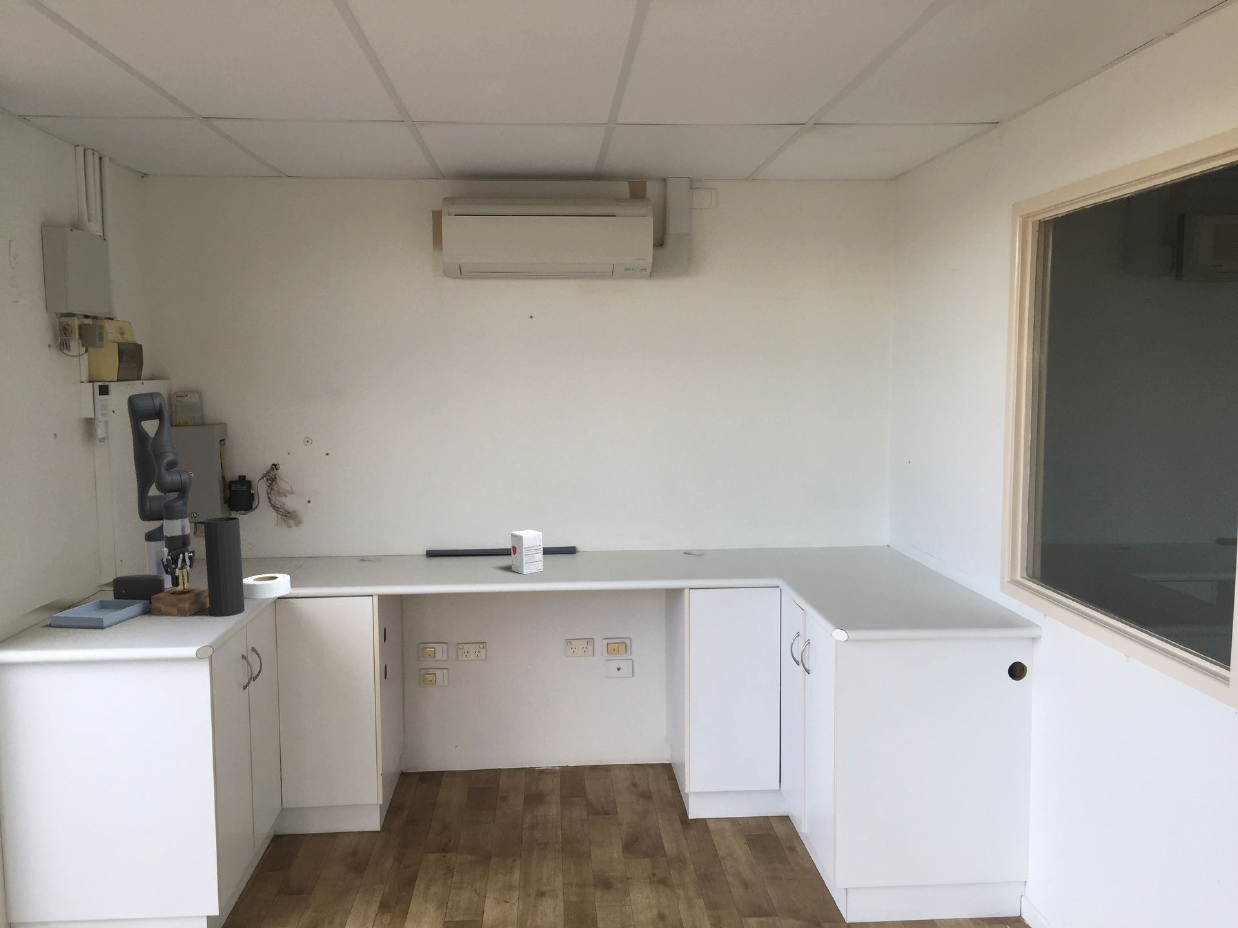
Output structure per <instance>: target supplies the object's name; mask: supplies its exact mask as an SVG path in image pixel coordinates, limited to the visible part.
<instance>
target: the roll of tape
mask: <svg viewBox="0 0 1238 928" xmlns="http://www.w3.org/2000/svg"><path fill="white" fill-rule="evenodd" d="M290 577H291V576H290V575H289V574H286V573H266V574H259V575H253V576H250V577H249V576H248V577H246V578H243V591H244V599H247V600H264V599H266V600H267V599H274V598H278V597H283V596H286V595H289V594H290V593H291V591H292V590H291V589H292V587H291V578H290Z"/></svg>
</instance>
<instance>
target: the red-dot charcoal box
mask: <svg viewBox="0 0 1238 928" xmlns="http://www.w3.org/2000/svg"><path fill="white" fill-rule="evenodd" d="M165 591H166V588H165V585H164V578H163V577H162V576H161V575H151V574H147V573H146V574H131V575H130V574H129V575H122V576H116V577H114V578H113V580H112V593H113V599H115V600H144V601H149V602H150V605H152V598H151V597H152V596H154V595H157V594H160V593H163V592H165Z"/></svg>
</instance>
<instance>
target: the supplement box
mask: <svg viewBox="0 0 1238 928" xmlns="http://www.w3.org/2000/svg"><path fill="white" fill-rule="evenodd" d="M510 547H511V548H510V550H511V571H512V572H516V573H519V574H522V575H527V574H534V573H540V572H543V571H544V558H543V557H544V556H543V555H544V554H543V548H544V547H543V532H540V531H538V530H533V529H526V530H519V531H518V530H516V531H511V532H510Z"/></svg>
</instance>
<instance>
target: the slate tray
mask: <svg viewBox="0 0 1238 928" xmlns="http://www.w3.org/2000/svg"><path fill="white" fill-rule="evenodd" d="M150 605H151V604H150V602H149V601H144V600H115V599H114V598H112V599H111V598H110V599H107V598H99V599H96V600H94V601H93V600H92V601H91V602H88V603H84V604H81V605H79V606H76V607H72V608H70V609H67V610H66V609H65V610H64V611H60V612H57V613H55V614H51V615H50V623H51V628H64V627H65V628H66V629H68V628H69V629H89V630H90V629H95V630H105V629H107V628H110V627H111V628H112V627H113V626H115V625H118V624H121V623H124V622H126V621H129V620H131V619H134V618H136V617H139V616H141V615H145V614H147V613H150V612H151V606H150ZM65 628H64V629H65Z"/></svg>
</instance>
